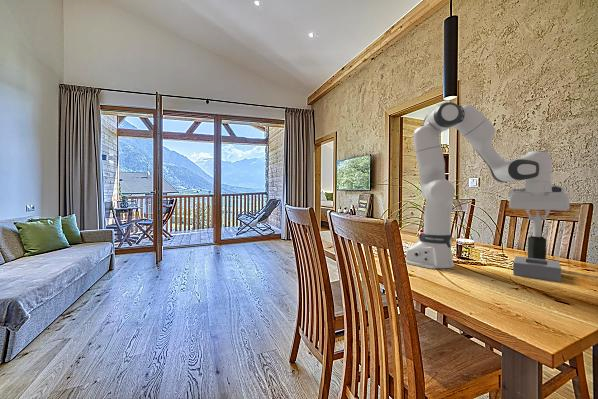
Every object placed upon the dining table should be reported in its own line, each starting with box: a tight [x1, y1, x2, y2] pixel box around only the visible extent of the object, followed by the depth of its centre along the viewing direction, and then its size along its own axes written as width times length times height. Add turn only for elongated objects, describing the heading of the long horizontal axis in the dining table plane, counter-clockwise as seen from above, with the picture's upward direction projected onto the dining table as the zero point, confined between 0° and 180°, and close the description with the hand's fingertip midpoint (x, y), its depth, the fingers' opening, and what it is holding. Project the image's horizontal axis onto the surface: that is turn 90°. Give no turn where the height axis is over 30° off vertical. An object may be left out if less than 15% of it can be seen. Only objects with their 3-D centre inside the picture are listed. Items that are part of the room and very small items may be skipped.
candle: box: [527, 210, 547, 260], centre depth 124 cm, size 5×5×25 cm
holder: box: [512, 255, 562, 283], centre depth 114 cm, size 14×14×5 cm
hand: (537, 220), depth 124 cm, fingers closed on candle, 3 cm apart
